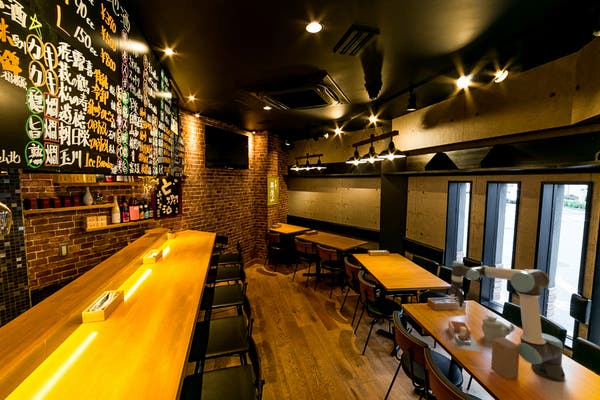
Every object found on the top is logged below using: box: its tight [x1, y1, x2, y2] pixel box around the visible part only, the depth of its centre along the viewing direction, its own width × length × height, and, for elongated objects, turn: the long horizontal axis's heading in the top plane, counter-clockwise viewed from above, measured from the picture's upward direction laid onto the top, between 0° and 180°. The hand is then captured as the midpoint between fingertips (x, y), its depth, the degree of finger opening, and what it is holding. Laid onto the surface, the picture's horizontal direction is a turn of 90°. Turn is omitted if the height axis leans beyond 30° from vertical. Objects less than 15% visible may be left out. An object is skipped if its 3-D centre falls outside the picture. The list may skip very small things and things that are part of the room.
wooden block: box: [490, 337, 520, 380], centre depth 158 cm, size 10×10×20 cm
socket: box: [455, 334, 471, 345], centre depth 190 cm, size 8×8×2 cm
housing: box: [447, 320, 472, 340], centre depth 198 cm, size 12×12×7 cm
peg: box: [460, 326, 466, 341], centre depth 190 cm, size 4×4×10 cm
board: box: [446, 327, 483, 353], centre depth 192 cm, size 27×16×1 cm, turn 163°
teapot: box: [481, 315, 516, 343], centre depth 190 cm, size 16×15×19 cm
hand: (455, 305), depth 206 cm, fingers open, 13 cm apart
